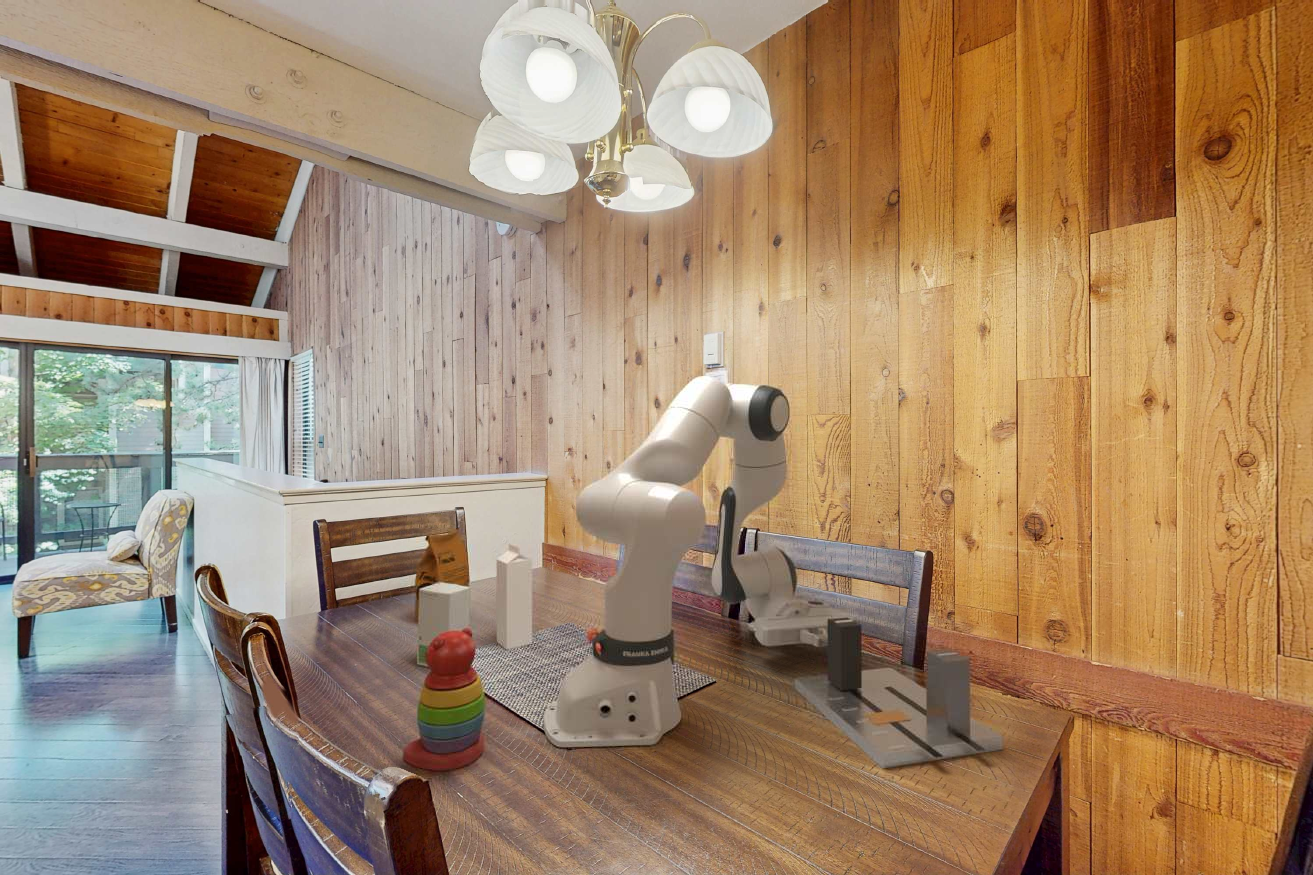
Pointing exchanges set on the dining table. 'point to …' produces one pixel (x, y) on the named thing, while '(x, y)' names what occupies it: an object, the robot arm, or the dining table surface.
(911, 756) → the console
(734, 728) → the dining table surface
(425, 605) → the skincare box
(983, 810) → the dining table surface
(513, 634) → the milk
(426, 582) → the coffee package
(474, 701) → the stacking bear
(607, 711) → the robot arm
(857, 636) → the fader knob
